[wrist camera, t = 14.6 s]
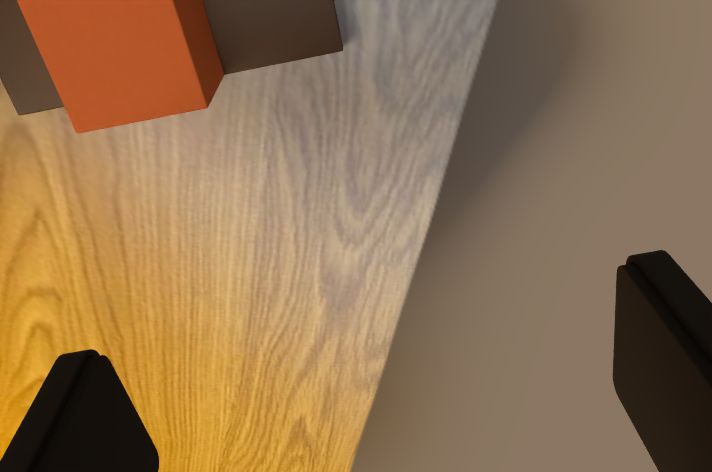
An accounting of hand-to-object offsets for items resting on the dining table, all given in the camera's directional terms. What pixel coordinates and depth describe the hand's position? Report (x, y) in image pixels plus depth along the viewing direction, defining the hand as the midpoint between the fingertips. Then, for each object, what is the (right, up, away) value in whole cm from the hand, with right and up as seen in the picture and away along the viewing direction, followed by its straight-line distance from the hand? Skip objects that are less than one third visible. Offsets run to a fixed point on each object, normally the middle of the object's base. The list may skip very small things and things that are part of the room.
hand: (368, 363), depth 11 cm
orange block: (-11, +14, +17) cm, 25 cm away
